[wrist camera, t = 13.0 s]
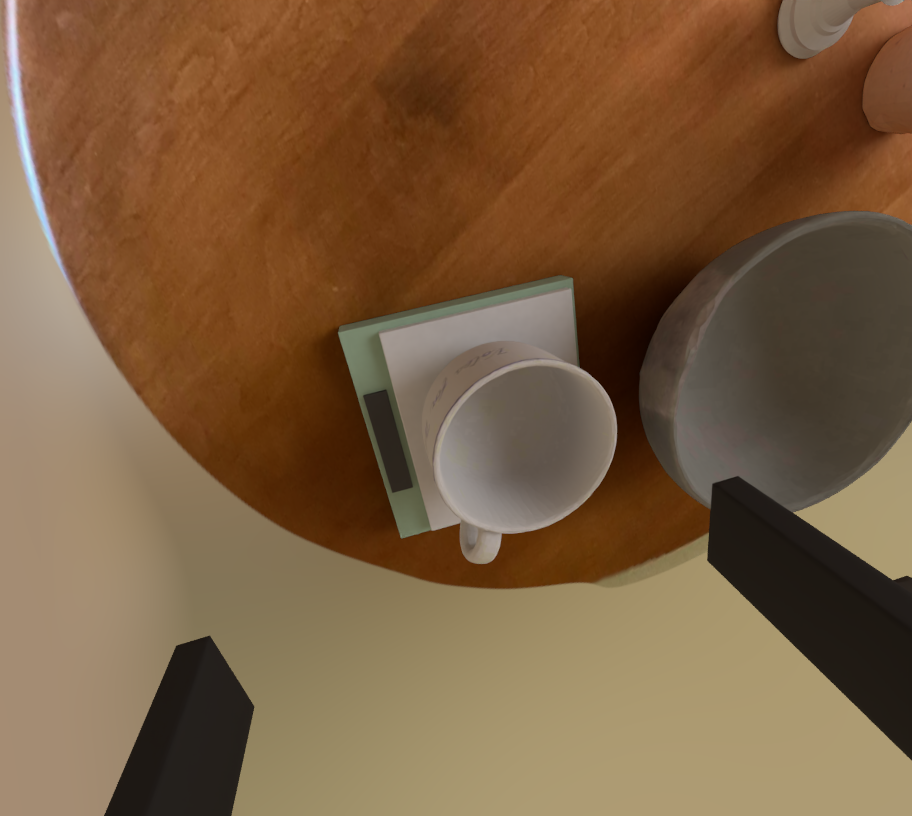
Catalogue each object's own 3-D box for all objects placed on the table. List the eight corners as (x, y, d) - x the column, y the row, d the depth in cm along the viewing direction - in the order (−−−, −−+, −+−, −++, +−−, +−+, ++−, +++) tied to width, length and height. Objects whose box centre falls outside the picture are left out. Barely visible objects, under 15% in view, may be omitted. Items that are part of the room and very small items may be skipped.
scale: (399, 523, 37) (401, 545, 35) (339, 326, 30) (337, 335, 28) (578, 473, 39) (593, 490, 36) (560, 274, 32) (578, 279, 29)
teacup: (463, 298, 28) (497, 324, 21) (592, 368, 32) (659, 411, 25) (370, 475, 32) (372, 550, 24) (496, 520, 35) (530, 597, 28)
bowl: (746, 471, 42) (850, 538, 33) (557, 437, 37) (620, 507, 28) (863, 256, 36) (1032, 267, 27) (655, 176, 30) (780, 156, 21)
